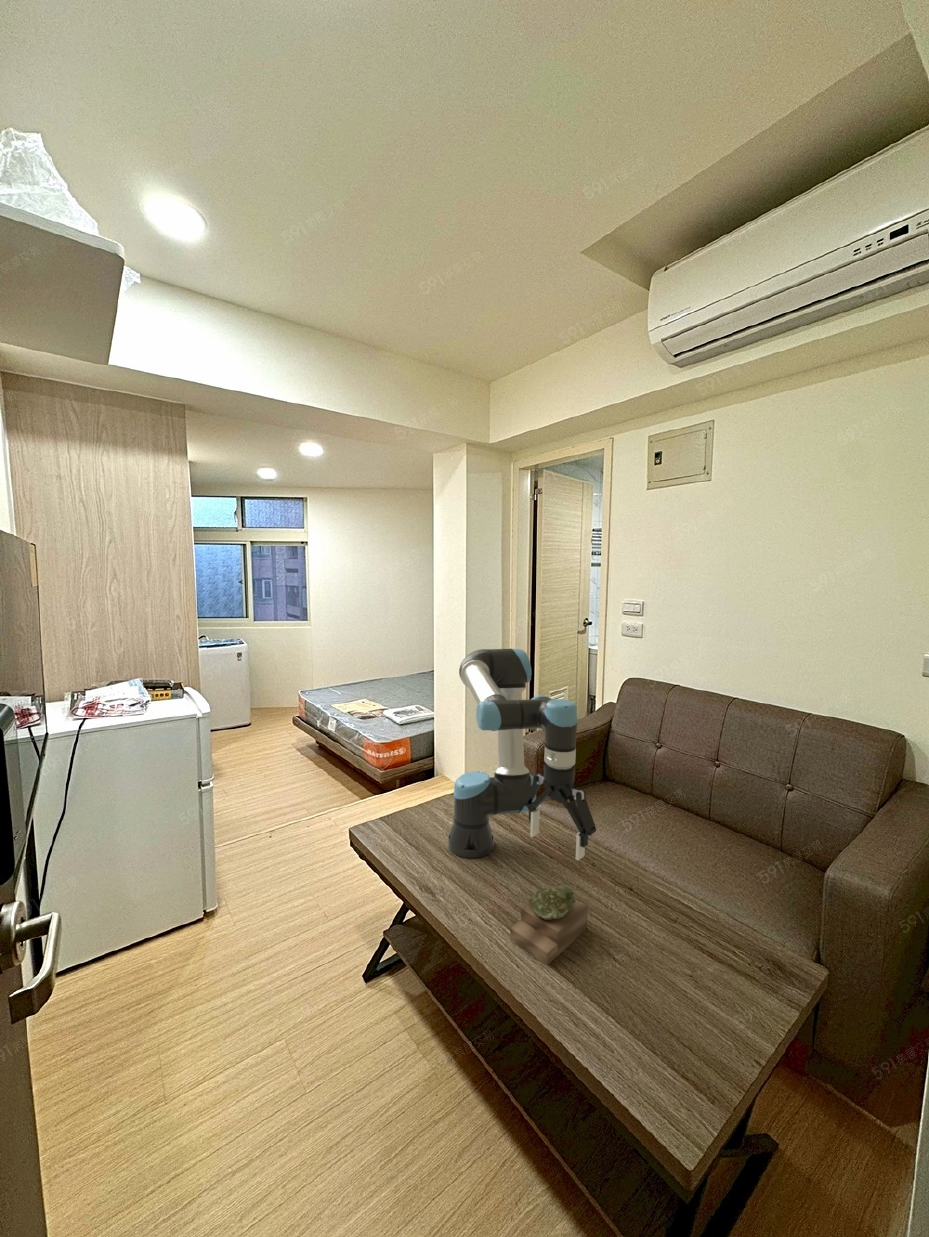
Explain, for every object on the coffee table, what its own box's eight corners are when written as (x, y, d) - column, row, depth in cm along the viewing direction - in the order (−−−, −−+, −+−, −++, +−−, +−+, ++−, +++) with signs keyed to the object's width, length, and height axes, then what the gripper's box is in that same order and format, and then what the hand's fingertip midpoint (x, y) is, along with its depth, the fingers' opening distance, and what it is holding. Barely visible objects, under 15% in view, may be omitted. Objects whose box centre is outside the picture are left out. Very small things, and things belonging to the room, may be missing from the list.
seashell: (521, 898, 121) (545, 865, 123) (533, 906, 125) (557, 874, 127) (549, 930, 113) (575, 894, 115) (561, 938, 117) (586, 903, 119)
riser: (510, 939, 118) (510, 916, 117) (551, 906, 129) (551, 885, 129) (547, 965, 110) (547, 941, 109) (586, 928, 122) (587, 905, 121)
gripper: (510, 753, 124) (508, 831, 126) (596, 785, 106) (592, 875, 108) (528, 746, 129) (526, 821, 131) (613, 775, 111) (609, 861, 113)
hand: (556, 845), depth 120 cm, fingers open, 13 cm apart
